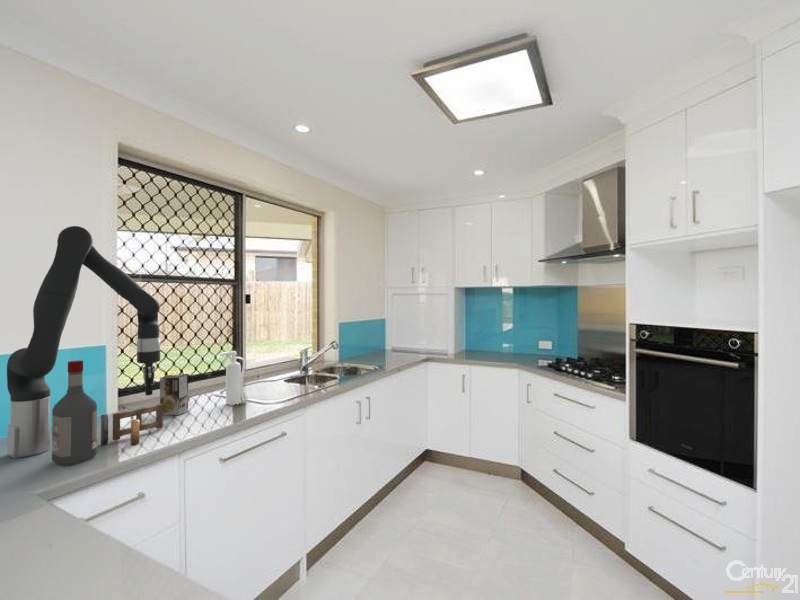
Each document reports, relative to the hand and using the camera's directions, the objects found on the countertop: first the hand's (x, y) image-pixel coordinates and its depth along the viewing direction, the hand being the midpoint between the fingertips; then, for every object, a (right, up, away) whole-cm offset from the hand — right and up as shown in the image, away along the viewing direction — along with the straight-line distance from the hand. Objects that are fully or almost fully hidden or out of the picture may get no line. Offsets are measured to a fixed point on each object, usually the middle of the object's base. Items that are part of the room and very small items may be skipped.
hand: (148, 394), depth 147 cm
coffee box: (-2, -13, +19) cm, 23 cm away
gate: (+2, -12, -8) cm, 15 cm away
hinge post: (-4, -13, -17) cm, 22 cm away
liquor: (-3, -13, -30) cm, 33 cm away
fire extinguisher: (+18, -13, +36) cm, 42 cm away
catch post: (+6, -13, -17) cm, 22 cm away
